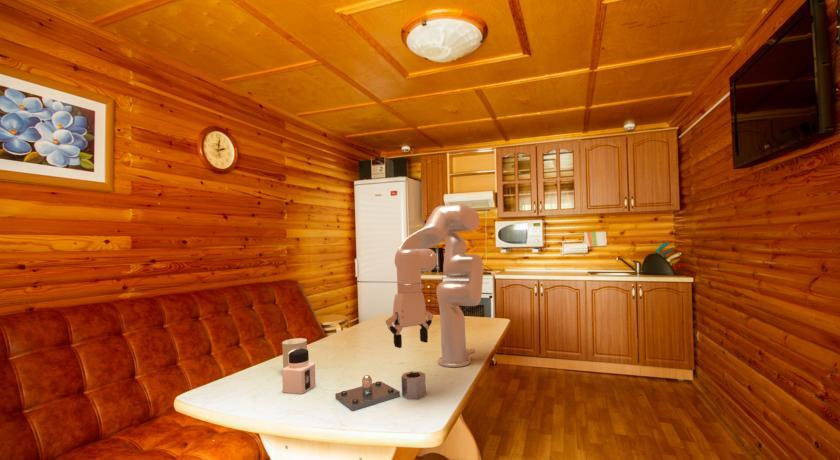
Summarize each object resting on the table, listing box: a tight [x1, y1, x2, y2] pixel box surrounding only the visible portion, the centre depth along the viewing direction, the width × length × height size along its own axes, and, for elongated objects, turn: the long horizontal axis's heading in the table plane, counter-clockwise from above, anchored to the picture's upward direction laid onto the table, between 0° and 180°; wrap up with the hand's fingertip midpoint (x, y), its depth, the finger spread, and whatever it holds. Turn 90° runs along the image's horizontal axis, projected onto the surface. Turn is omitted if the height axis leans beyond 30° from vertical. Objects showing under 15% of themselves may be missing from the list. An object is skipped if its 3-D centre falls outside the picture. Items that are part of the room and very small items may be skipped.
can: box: [281, 337, 308, 369], centre depth 149 cm, size 9×9×12 cm
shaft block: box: [334, 374, 401, 412], centre depth 120 cm, size 16×12×7 cm
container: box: [281, 348, 317, 395], centre depth 130 cm, size 8×8×13 cm
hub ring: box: [400, 370, 427, 400], centre depth 120 cm, size 7×7×6 cm
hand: (411, 344), depth 120 cm, fingers open, 9 cm apart
